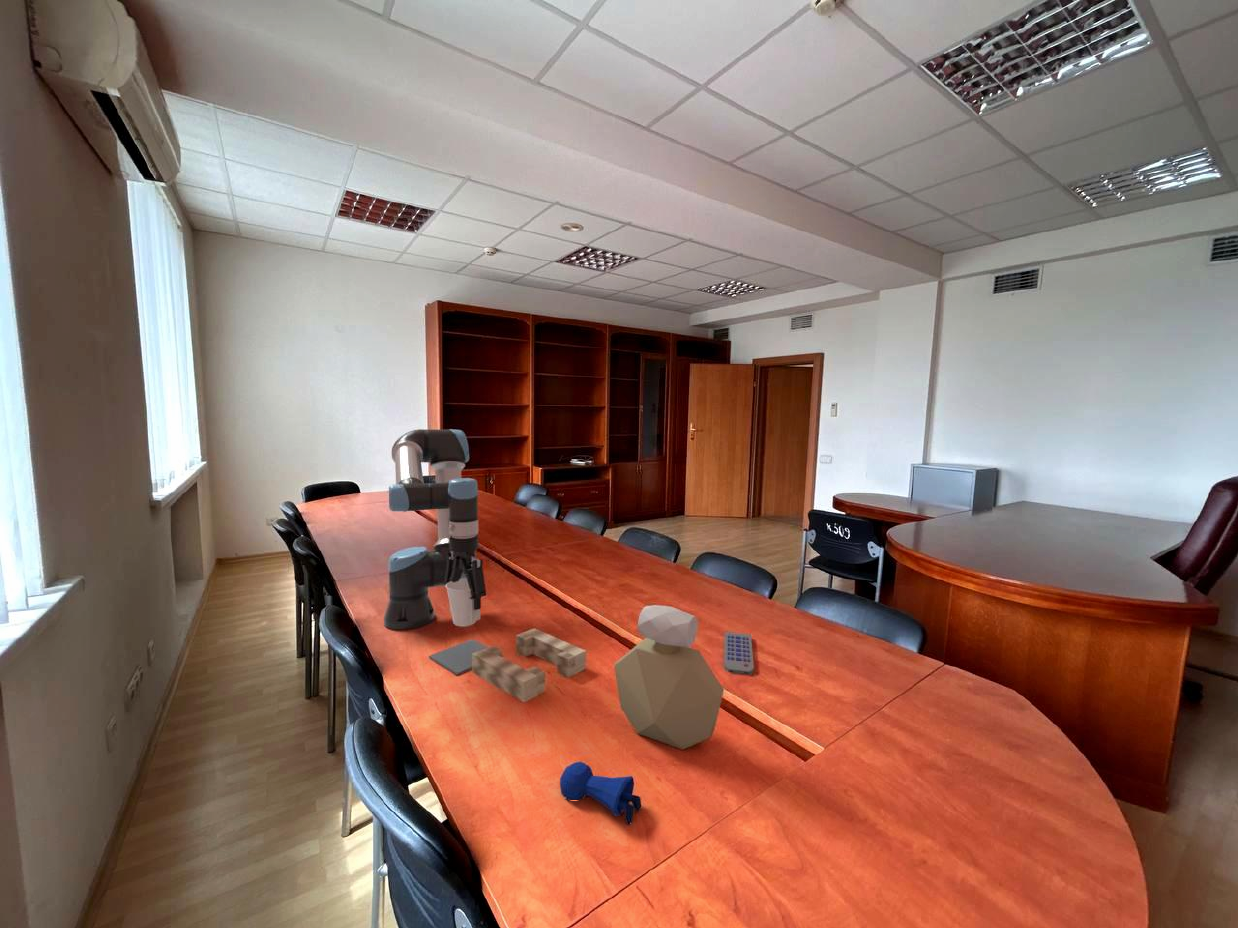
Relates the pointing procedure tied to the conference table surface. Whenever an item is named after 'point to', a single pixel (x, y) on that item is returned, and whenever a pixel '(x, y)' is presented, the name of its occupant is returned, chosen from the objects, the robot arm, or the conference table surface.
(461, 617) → the cup
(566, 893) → the conference table surface
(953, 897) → the conference table surface
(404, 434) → the robot arm
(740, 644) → the remote control
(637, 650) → the perfume bottle
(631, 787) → the toy
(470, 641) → the coaster
